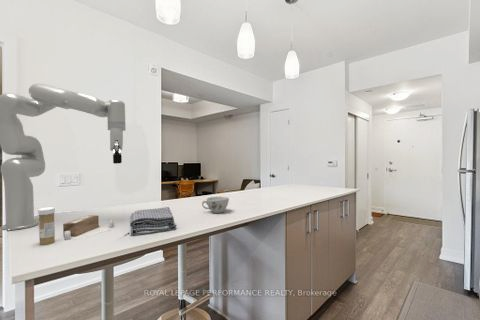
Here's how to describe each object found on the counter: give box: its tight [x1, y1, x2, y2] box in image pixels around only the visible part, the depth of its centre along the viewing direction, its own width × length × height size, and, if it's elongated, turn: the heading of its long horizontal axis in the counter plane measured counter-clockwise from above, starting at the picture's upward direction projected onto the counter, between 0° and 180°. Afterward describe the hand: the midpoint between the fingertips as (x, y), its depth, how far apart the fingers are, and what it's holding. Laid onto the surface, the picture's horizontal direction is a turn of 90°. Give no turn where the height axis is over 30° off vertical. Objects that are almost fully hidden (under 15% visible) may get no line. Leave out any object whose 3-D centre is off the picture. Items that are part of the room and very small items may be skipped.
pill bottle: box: [37, 206, 56, 246], centre depth 85 cm, size 5×5×13 cm
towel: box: [129, 206, 177, 236], centre depth 104 cm, size 15×18×8 cm
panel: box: [64, 219, 115, 241], centre depth 97 cm, size 16×20×4 cm
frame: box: [62, 215, 100, 238], centre depth 98 cm, size 5×13×5 cm, turn 174°
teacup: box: [201, 196, 230, 214], centre depth 132 cm, size 15×12×8 cm
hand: (117, 163), depth 112 cm, fingers open, 9 cm apart
